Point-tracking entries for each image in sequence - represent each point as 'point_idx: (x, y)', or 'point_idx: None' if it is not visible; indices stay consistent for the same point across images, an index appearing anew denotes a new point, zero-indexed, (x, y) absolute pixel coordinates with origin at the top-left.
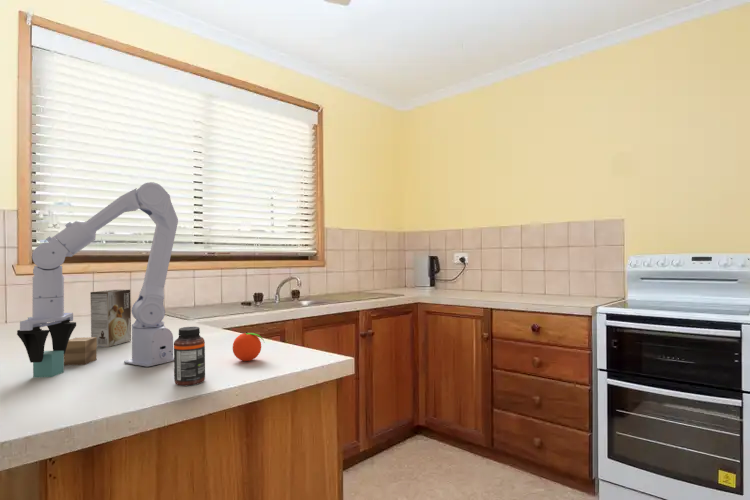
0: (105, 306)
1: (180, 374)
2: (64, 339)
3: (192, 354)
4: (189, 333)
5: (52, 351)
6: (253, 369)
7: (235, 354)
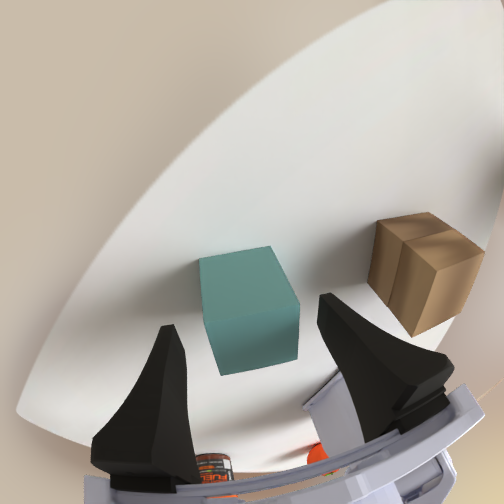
0: None
1: None
2: (345, 375)
3: None
4: None
5: (279, 341)
6: (274, 460)
7: (314, 453)
